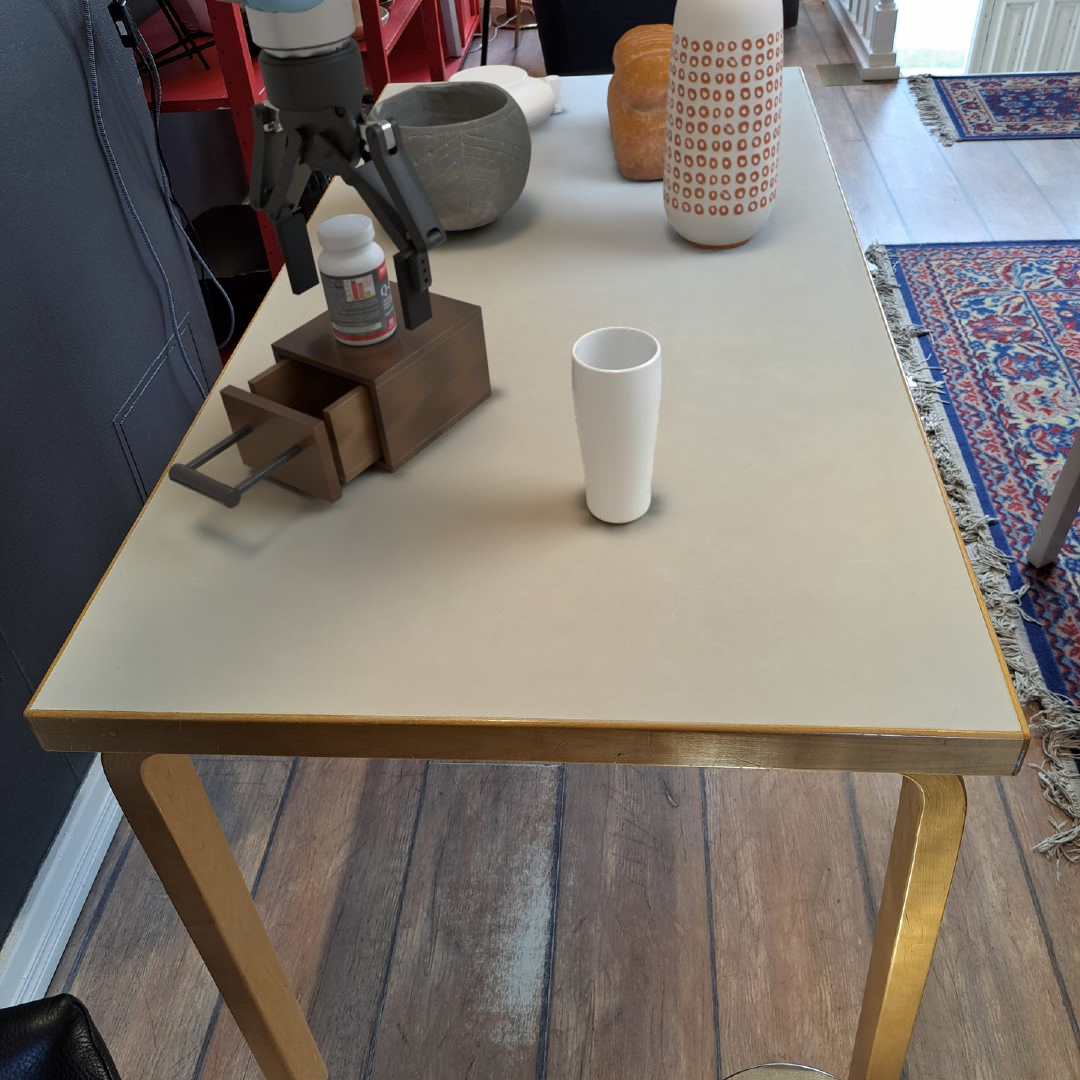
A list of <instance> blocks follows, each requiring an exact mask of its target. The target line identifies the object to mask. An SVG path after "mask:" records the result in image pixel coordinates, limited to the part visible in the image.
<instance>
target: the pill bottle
mask: <svg viewBox="0 0 1080 1080" xmlns="http://www.w3.org/2000/svg"><path fill="white" fill-rule="evenodd" d="M316 235H317V236H316V237H317V239H318V244H319V246H320V247H321V248H323V249H322V250H321V252H320V253H319V255H318V257H317V268H318V272H319V276H320V277H319V278H320V282H321V285H322V289H323V294H324V297H325V302H326V307H327V310H328V312H329V316H330V320H331V325H332V329H333V333H334V335H335V337H336V338H337V339H338V340H339V341H340V342H342V343H345V344H348V345H354V346H363V345H370V344H374V343H378V342H380V341H383V340H385V339H386V338H388V337H389V336H390V335H391V334H392V333H393V332H394V331H395V328H396V316H395V311H394V306H393V300H392V295H391V289H390V284H389V281H390V280H389V274H388V268H387V262H386V256H385V253H384V251H383V249H382V248H381V246H380V245H379V244H378V243H376V242H375V241H374V238H375V235H376V233H375V229H374V224H373V221H372V219H371V218H370V217H369V216H368V215H364V214H360V213H346V214H340V215H335V216H331V217H330V218H327V219H325V220H323V221H322V222H320V223H319V224H318V226H317V227H316Z"/></svg>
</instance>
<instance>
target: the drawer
mask: <svg viewBox="0 0 1080 1080" xmlns="http://www.w3.org/2000/svg"><path fill="white" fill-rule="evenodd" d="M247 386H248V388H249V391H247V390H245V389H243V388H239V387H237V386H235V385H232V384H228V385H226V386H224V387H223V388H221V389H220V390H219V394H220V397H221V401H222V404H223V407H224V410H225V413H226V416H227V419H228V422H229V425H230V428H231V431H232V433H231V434H230V435H228V436H226V438H223V439H222V440H221V441H219V442H217V443H216V444H215V445H213V446H211V447H210V448H208V449H207V450H205V451H204V452H202V453H201V454H199V455H198V456H196V457H194V458H193V459H191V460H190V461H189V462H187V463H185V464H183V463H181V462H176V463H174V464H172V465H171V466H170V467H169V470H168V472H167V473H168V474H167V476H168V478H169V480H170V481H171V482H173V483H175V484H177V485H180V486H181V487H183V488H185V489H188V490H190V491H192V492H194V493H196V494H198V495H200V496H202V497H204V498H206V499H209V501H210V500H211V501H213V502H215V503H216V504H219V505H221V506H223V507H225V508H227V509H235V508H236V507H237V506H238V505H239V504H240V502H241V500H242V495H243V494H244V493H246V492H248V491H249V490H250V489H252V488H253V487H255V486H256V485H257V484H258V483H260V482H261V481H263V480H264V479H266V478H267V477H271V478H274V479H276V480H279V481H280V482H283V483H285V484H287V485H289V486H292V487H294V488H296V489H299V490H301V491H303V492H305V493H307V494H310V495H312V496H314V497H316V498H318V499H321V500H323V501H326V502H328V503H330V504H332V505H334V504H335V503H337V502H338V501H339V500H341V499H342V498H343V493H342V488H341V484H340V481H341V482H343V483H345V484H348V483H350V481H352V480H353V479H354V478H356V477H358V475H359V474H361V473H363V471H365V470H366V469H368V468H369V467H370V466H371V465H373V464H372V463H374V462H375V461H376V460H378V459H379V458H380V457H382V456H383V455H384V454H383V449H382V444H381V439H380V435H379V430H378V425H377V421H376V416H375V411H374V407H373V402H372V397H371V393H370V388H369V386H367V385H365V384H362V383H359V382H356V381H353V380H351V379H348V378H345V377H342V376H339V375H337V374H334V373H331V372H328V371H325V370H322V369H320V368H317V367H314V366H311V365H308V364H306V363H303V362H300V361H297V360H294V359H292V358H289V357H286V358H284V359H283V360H281V361H279V362H278V363H276V362H275V363H274V364H273V365H271V366H269V367H268V368H266V369H265V370H264V371H262V372H260V373H259V374H257V375H255V376H253V377H252V378H251V379H249V380H247ZM235 444H236V446H237V449H238V452H239V455H240V458H241V462H242V464H243V465H244V466H247V467H248V468H251V469H253V470H256V472H254V473H252V474H251V475H249V476H248V477H246V478H245V479H244V480H242V481H240V483H238V484H237V485H236V486H234V487H233V486H230V485H228V484H226V483H224V482H222V481H219V480H218V479H215V478H213V477H211V476H209V475H207V474H204V472H203V473H202V472H201V471H198V470H197V469H199V468H200V467H202V466H204V465H205V464H207V463H208V462H210V461H211V460H212V459H214V458H215V457H217V456H218V455H220V454H222V453H223V452H224V451H226V450H228V449H229V448H231V447H232V446H233V445H235Z"/></svg>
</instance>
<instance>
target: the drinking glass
mask: <svg viewBox="0 0 1080 1080" xmlns="http://www.w3.org/2000/svg"><path fill="white" fill-rule="evenodd" d="M661 348H662V347H661V344H660V342H659V340H657V338H656V337H655V336H654V335H652V334H651V333H649V332H647V331H645V330H642V329H639V328H635V327H628V326H607V327H601V328H597V329H594V330H592V331H589V332H587V333H585V334H583V335H581V336H579V338H577V339H576V340H575V341H574V342H573V344H572V346H571V348H570V376H571V377H570V382H571V394H572V395H571V396H572V402H573V403H572V404H573V405H572V406H573V412H574V419H575V424H576V431H577V437H578V438H577V439H578V443H579V450H580V457H581V463H582V470H583V477H584V485H585V499H586V505H587V508H588V510H589V512H590V513H591V514H592V515H593V516H594V517H596V518H597V519H599V520H601V521H603V522H607V523H611V524H626V523H630V522H633V521H636V520H638V519H640V518H641V517H643V516H644V515H645V514H646V512H648V510H649V508H650V506H651V501H652V480H653V471H654V463H655V462H654V461H655V453H656V444H657V435H658V428H659V427H658V425H659V418H660V417H659V416H660V409H661V397H662V376H663V375H662V349H661Z"/></svg>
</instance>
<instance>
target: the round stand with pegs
mask: <svg viewBox="0 0 1080 1080" xmlns="http://www.w3.org/2000/svg"><path fill="white" fill-rule="evenodd" d="M461 81H479V82H487V83H492V84H496V85H498V86H500V87H501V88H503V89H504V90H506V91H507V92H508V93H509V94H510V95H511V96H512V97H513V98H514V99H515V101H516V102H517V103H518V105H519V106H520V108H521V109H522V111H523V113H524V115H525V118H526V121H527V125H528V128H529V129H530V128H533V127H535V126H538V125H539V124H541V123H543V122H544V121H545V120H547V119H548V118H549V117H550V115H551V114H559V113H561V112H562V111H563V109H562V105H561V106H559V107H554V106H555V104H560V102H561V103H562V93H561V92H562V89H561V77H560V76H559V75H557V74H556V75H555V74H552V75H547V76H545V77H544V80H541V79H539V78H537V77H534V76H531V75H530V76H529V75H528V73H527V71H526V70H525V69H523V68H521V67H518V66H514V65H507V64H488V65H480V66H474V67H470V68H469V67H468V68H465V69H462V70H460V71H457V72H456V73H453V74H452V75H451V76H450V77H449V78H448V80H447V82H461Z"/></svg>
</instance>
